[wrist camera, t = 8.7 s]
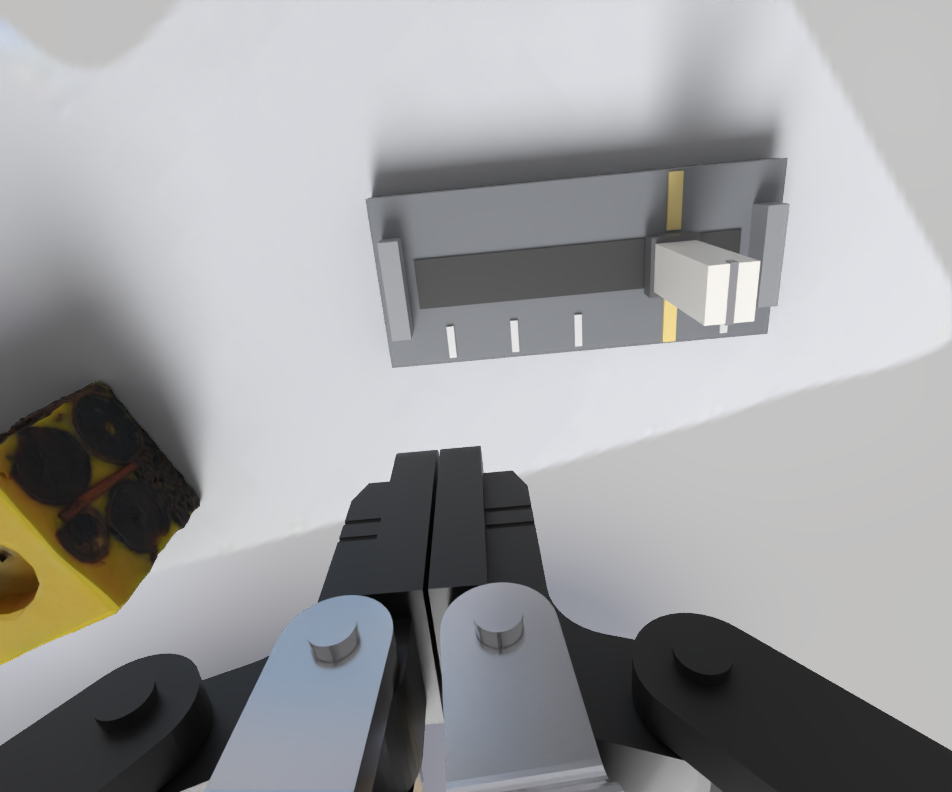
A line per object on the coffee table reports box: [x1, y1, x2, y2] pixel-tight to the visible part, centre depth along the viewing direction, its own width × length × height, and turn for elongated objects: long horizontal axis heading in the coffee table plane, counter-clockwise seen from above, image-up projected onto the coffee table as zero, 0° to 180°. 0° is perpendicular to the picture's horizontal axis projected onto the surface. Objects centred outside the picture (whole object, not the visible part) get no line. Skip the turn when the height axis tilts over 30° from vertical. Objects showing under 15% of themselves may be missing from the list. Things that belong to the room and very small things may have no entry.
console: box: [366, 158, 789, 368], centre depth 30 cm, size 9×21×4 cm, turn 95°
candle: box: [0, 382, 200, 665], centre depth 31 cm, size 10×10×10 cm
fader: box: [644, 231, 760, 326], centre depth 25 cm, size 3×2×8 cm
